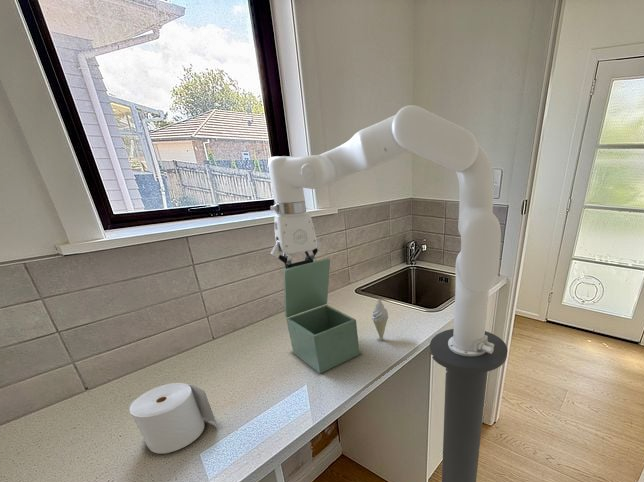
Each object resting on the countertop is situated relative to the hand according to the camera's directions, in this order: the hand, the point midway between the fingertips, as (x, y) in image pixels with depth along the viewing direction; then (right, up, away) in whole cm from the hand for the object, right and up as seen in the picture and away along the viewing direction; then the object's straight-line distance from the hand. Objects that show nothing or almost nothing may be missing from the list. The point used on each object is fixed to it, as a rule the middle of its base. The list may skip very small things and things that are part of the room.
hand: (301, 273), depth 96 cm
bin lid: (+2, -4, 0) cm, 5 cm away
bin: (+6, -24, +6) cm, 25 cm away
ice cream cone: (+22, -20, +13) cm, 32 cm away
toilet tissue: (-19, -38, -22) cm, 48 cm away
